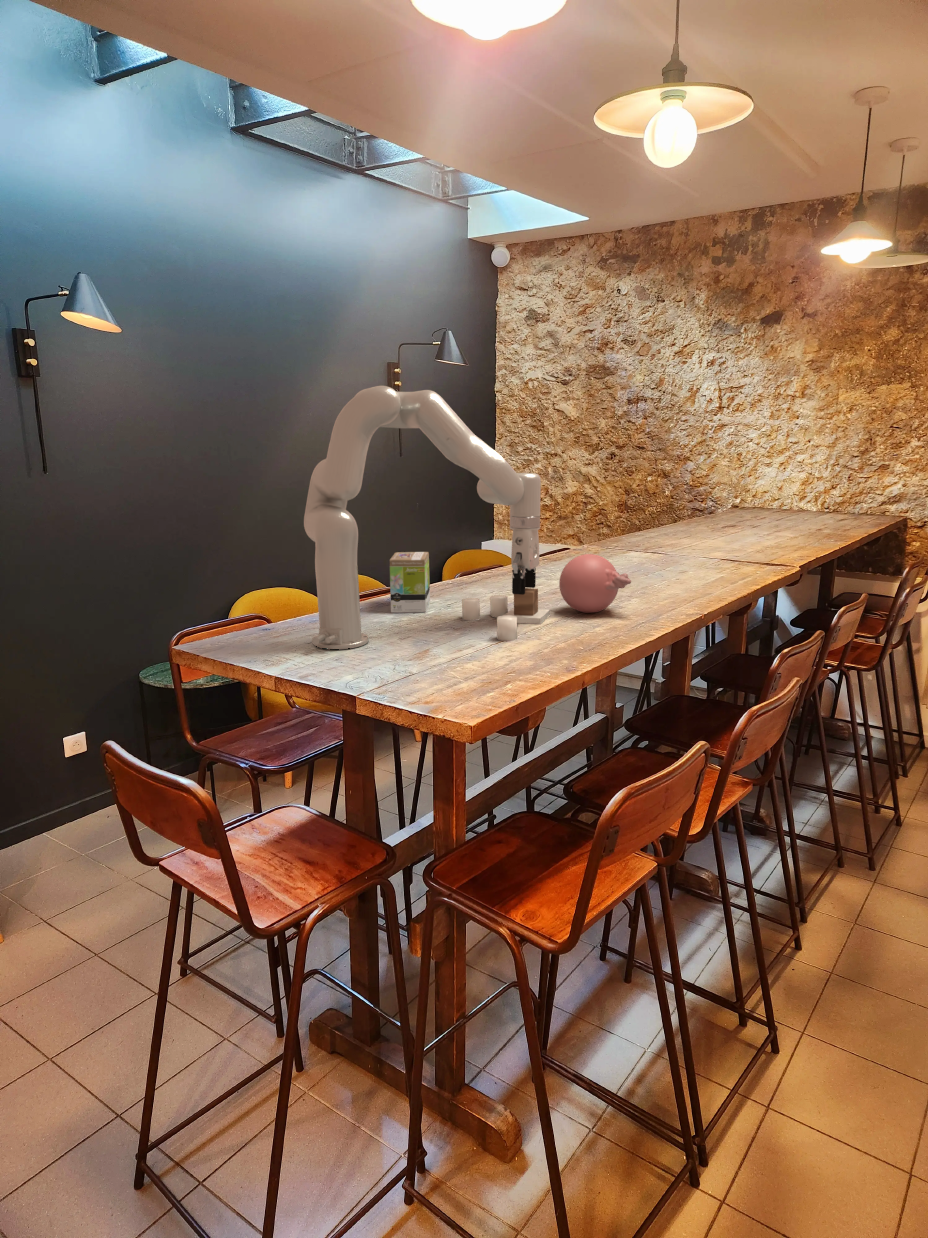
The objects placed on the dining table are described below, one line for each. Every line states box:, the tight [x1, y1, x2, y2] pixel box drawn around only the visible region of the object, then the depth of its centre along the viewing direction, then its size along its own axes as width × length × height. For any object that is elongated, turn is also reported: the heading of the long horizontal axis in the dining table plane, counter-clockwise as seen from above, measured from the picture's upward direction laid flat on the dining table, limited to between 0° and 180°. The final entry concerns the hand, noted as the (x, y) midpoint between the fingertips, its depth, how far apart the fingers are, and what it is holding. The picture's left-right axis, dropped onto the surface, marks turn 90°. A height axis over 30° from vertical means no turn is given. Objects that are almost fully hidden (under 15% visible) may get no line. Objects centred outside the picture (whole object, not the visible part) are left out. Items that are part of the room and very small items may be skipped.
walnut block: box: [513, 587, 539, 616], centre depth 202 cm, size 5×5×6 cm
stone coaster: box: [504, 607, 551, 625], centre depth 203 cm, size 10×10×2 cm
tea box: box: [389, 551, 431, 614], centre depth 218 cm, size 15×10×15 cm, turn 179°
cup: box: [496, 615, 518, 642], centre depth 184 cm, size 5×5×5 cm
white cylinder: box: [489, 594, 509, 618], centre depth 207 cm, size 5×5×5 cm
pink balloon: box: [559, 553, 632, 614], centre depth 205 cm, size 15×20×15 cm
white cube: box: [461, 597, 481, 622], centre depth 204 cm, size 5×5×5 cm
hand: (524, 590), depth 201 cm, fingers open, 9 cm apart
